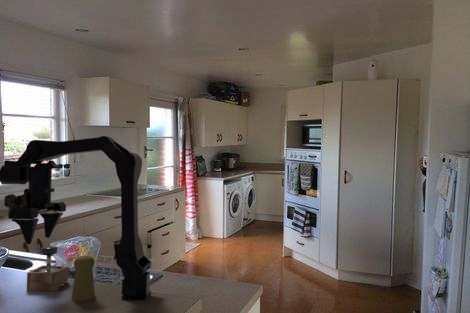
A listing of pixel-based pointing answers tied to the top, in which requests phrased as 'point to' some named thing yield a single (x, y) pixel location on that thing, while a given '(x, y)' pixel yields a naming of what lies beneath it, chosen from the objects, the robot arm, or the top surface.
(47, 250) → the plunger
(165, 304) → the top surface
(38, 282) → the wooden box
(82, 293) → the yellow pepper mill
